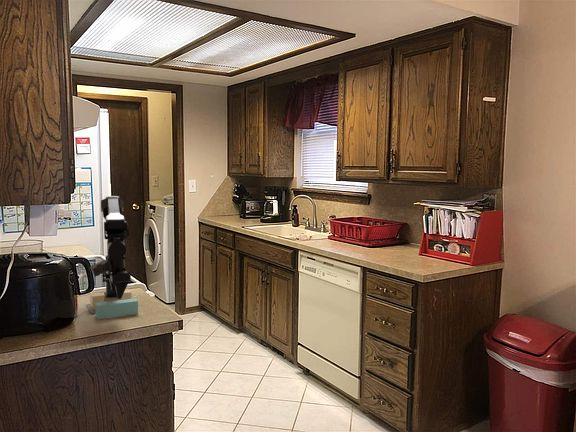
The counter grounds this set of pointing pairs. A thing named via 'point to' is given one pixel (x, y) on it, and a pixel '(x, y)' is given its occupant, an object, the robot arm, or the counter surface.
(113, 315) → the teal beam
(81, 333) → the counter surface
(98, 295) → the bridge base
